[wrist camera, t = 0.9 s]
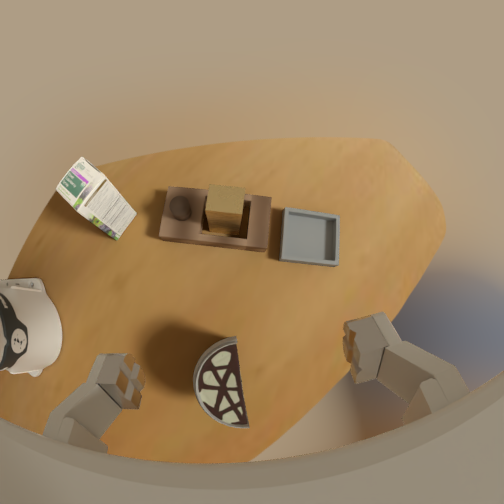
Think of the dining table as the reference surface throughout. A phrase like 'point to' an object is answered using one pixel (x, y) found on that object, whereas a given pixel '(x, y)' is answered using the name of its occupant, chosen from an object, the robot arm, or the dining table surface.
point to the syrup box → (96, 198)
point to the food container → (221, 384)
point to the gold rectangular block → (224, 209)
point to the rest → (309, 237)
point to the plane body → (192, 217)
